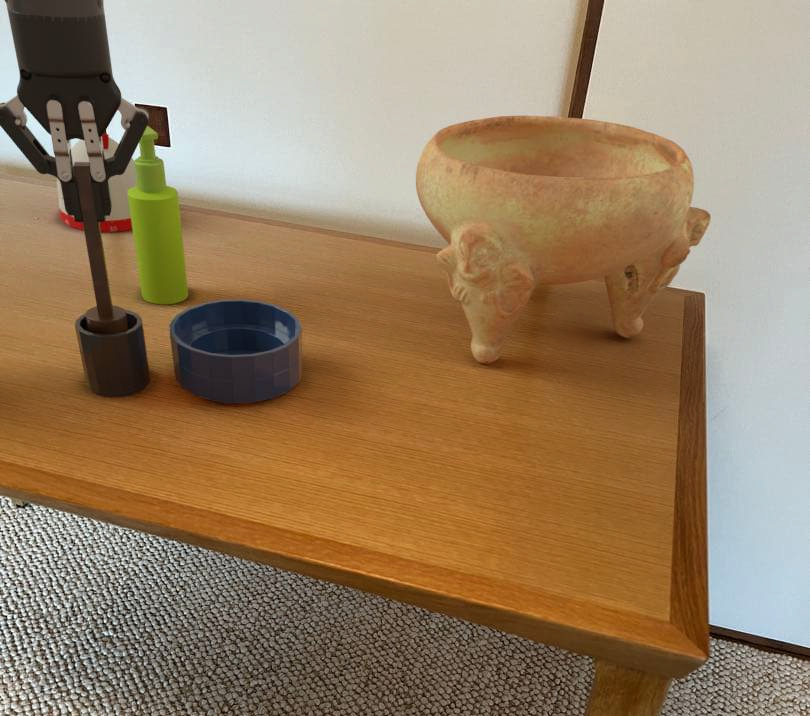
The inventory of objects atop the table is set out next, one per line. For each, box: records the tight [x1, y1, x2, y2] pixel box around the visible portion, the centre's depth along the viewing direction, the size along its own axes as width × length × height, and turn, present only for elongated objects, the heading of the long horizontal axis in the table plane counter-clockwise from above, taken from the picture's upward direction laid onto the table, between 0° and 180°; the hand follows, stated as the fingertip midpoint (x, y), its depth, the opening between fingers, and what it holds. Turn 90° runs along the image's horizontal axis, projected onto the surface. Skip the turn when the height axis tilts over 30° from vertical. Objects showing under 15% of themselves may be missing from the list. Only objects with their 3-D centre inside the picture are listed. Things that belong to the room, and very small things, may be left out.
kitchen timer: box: [56, 133, 137, 233], centre depth 123 cm, size 14×14×15 cm
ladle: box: [74, 162, 129, 334], centre depth 80 cm, size 4×4×16 cm
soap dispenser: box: [127, 125, 189, 305], centre depth 101 cm, size 6×7×20 cm
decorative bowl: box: [415, 115, 711, 365], centre depth 101 cm, size 34×35×23 cm
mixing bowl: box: [169, 298, 303, 404], centre depth 90 cm, size 14×14×6 cm
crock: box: [74, 309, 151, 398], centre depth 87 cm, size 7×7×7 cm
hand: (90, 218), depth 78 cm, fingers closed on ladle, 1 cm apart
